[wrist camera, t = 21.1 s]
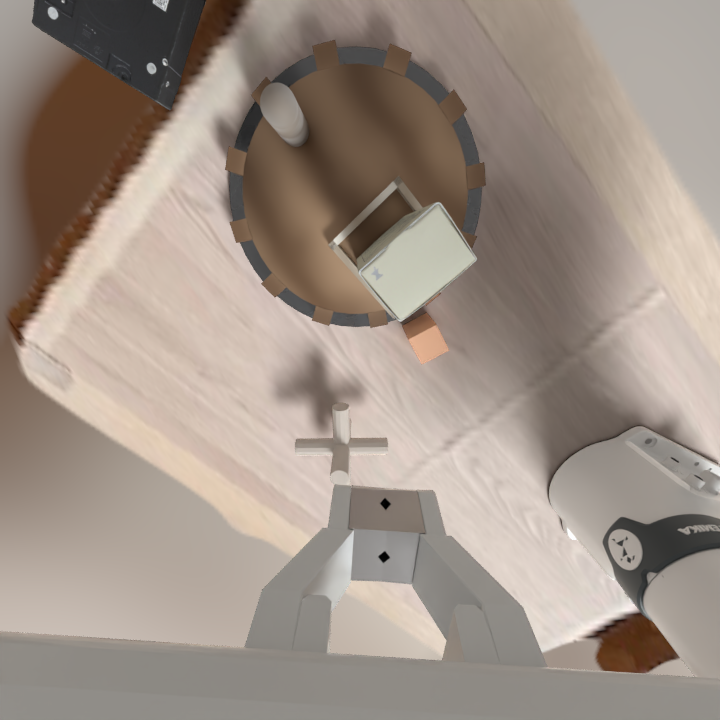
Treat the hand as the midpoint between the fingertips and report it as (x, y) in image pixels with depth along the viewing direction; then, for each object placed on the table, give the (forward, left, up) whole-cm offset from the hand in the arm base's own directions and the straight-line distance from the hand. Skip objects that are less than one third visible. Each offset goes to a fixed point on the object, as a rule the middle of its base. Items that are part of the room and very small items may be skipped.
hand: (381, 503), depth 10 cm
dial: (+4, -9, -28) cm, 30 cm away
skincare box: (-1, -6, -25) cm, 26 cm away
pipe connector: (-1, +15, -28) cm, 32 cm away
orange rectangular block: (-7, +1, -28) cm, 29 cm away
